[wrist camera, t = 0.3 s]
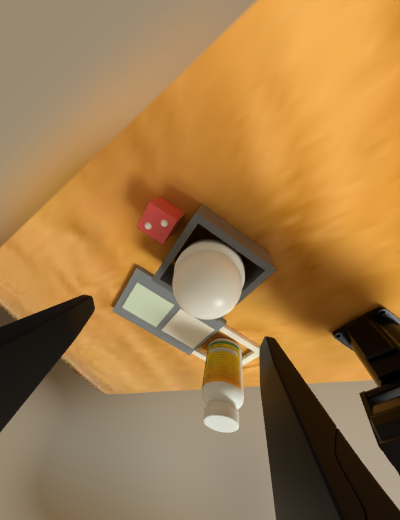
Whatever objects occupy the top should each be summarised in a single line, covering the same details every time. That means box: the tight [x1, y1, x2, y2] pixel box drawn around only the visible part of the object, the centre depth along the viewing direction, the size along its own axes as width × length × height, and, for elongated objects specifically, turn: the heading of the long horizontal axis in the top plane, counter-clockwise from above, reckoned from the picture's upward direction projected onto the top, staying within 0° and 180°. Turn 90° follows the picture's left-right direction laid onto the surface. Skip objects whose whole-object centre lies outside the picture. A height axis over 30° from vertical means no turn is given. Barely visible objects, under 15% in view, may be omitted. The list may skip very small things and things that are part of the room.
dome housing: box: [137, 197, 276, 321], centre depth 19 cm, size 13×9×4 cm
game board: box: [113, 266, 260, 366], centre depth 27 cm, size 22×10×1 cm, turn 56°
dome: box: [172, 239, 245, 320], centre depth 16 cm, size 7×7×6 cm
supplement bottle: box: [202, 338, 244, 432], centre depth 24 cm, size 5×5×10 cm
